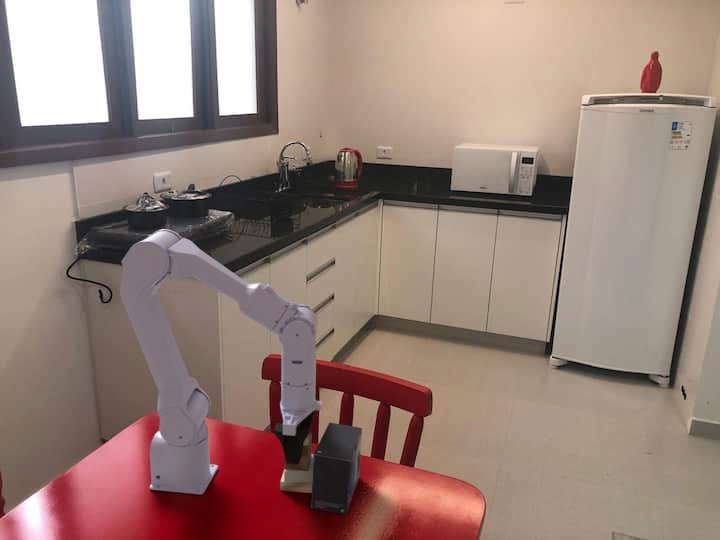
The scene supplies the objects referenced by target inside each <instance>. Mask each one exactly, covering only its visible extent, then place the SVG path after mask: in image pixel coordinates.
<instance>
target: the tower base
mask: <svg viewBox="0 0 720 540" xmlns="http://www.w3.org/2000/svg"><path fill="white" fill-rule="evenodd" d="M284 471H285V468H284V469H283V472H282V476H281V479H280V482H279V484H280V485H279V488H280V491H284V492H285V491H286V492H297V493H309V494H312V484H313V482H287V483H284Z"/></svg>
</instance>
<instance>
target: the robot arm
mask: <svg viewBox="0 0 720 540" xmlns="http://www.w3.org/2000/svg"><path fill="white" fill-rule="evenodd" d="M121 265H122V267H123V268H122V275H121V281H120V286H119V295H120V299H121V303H122V304H123V306H124V309H125V311H126V313H127V317H128V318H129V321H130V324H131V326H132V328H133V332H134V333H135V337H136V339H137V341H138V343H139V346H140V349H141V352H142V354H143V356H144V358H145V361H146V363H147V366H148V369H149V371H150V374H151V376H152V378H153V380H154V383H155V385H156V388H157V390H158V397H157V406H156V407H157V408H156V410H157V413H158V417H159V430H158V431H157V432H156V433H155V434H154V436H153V438H152V440H151V443H150V447H149V448H150V449H149V462H150V463H149V465H150V467H149V468H150V479H151V481H150V482H151V483H150V485H149V490H152V491H163V492H171V493H182V494H190V495H191V494H193V495H203V494H204V493H205V491H206V490H207V488H208V486H209V484H210V483H211V482H212V480H213V478H214V476H215V474H216V473H217V471H218V469H219V465H217V464H211V463H210V462H211V461H210V435H209V433H210V432H209V427H208V425H207V422H206V416H207V415H208V414H209V413H210V410H211V407H212V402H211V398H210V396H209V395H208V394H207V393H206V392H205V391H204V390H203V389H202V388H201V386H200V384H199V382H198V379H196V378H194V377H191V376H190V375H189V371H188V370H187V367H186V364H185V361H184V358H183V357H182V353H181V351H180V348H179V347H178V343H177V341H176V338H175V336H174V334H173V331H172V328H171V325H170V322H169V320H168V318H167V315H166V312H165V310H164V307H163V305H162V302H161V300H160V299H161V298H160V297H159V294H158V291H159V289H160V288H161V286H162V285H163V283H164V280H165V279H166V277H167V275H168V274H169V273H170V276H169V280H179V279H188V278H194V279H195V280H198V281H199V282H202V283H203V284H205V285H207V286H209V287H210V288H212V289H213V290H216V291H218V292H219V293H222V294H223V295H224V296H227V297H228V298H231V299H232V300H234V301H236V302H237V304H238V308H239V312H240V313H241V314H242V315H245V317H248V318H249V319H250V320H252V321H253V322H255V323H257V324H259V325H260V326H262V327H264V329H267V330H268V331H270V332H272V333H273V334H275V335H278V339H279V342H280V343H281V345H282V352H281V379H280V380H281V382H280V383H281V385H280V387H281V389H280V390H281V393H280V394H281V396H280V397H281V400H280V402H279V406H280V407H279V409H280V413H281V415H282V420H283V422H282V423H279V422H278V423H276V424H275V426H274V435H275V436H276V438H277V440H279V443H280V445H281V447H282V451H283V455H284V460H285V459H286V462H287V464H299V462H300V459H301V455H302V449H303V444H304V441H305V439H306V437H307V436H308V434H309V433H311V427H312V421H313V418H314V414H315V412H316V411H321V410H322V407H323V402H322V401H321V400H320V398H319V397H316V385H317V384H316V382H317V379H316V378H317V376H316V375H317V352H316V349H317V345H316V341H317V330H318V325H319V324H318V323H319V322H318V317H317V315H316V313H315V312H314V310H313V309H312V308H310V306H309V305H307V304H303V303H302V304H301V303H300V304H299V303H298V302H296V301H293V302H292V301H290V300H289V299H287V298H286V297H284V296H282V295H281V294H280V293H278V292H276V291H274V290H275V289H276V288H275V286H273V285H272V284H270V283H267V284H266V285H265V284H263V283H262V282H256V283H249V282H247V281H246V280H244V279H242V278H241V277H240V276H238V274H236V273H234V272H233V271H231V270H230V269H229V268H227V267H225V266H224V265H223V264H222V263H220V262H218V261H217V260H216V259H214V258H213V257H211V256H210V255H209V254H208V253H206V252H204V251H203V250H202V249H200V248H199V247H198V246H197V245H196V243H194V242H193V241H192V240H190V239H187V238H185V237H182V236H181V235H180V234H179V233H177V232H176V231H174V230H171V229H167V228H165V229H163V228H162V229H158V230H156V231H154V232H153V233H151V234H150V235H149V236H147V237H146V238H145V239H143V240H140V241H138V242H136V243H134V244H133V245H132V246H131V247H130V248H129V250H128V251H127V253H126V254H125V255H124V256H123V259H122V260H121Z"/></svg>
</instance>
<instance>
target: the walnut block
mask: <svg viewBox="0 0 720 540" xmlns="http://www.w3.org/2000/svg"><path fill="white" fill-rule="evenodd" d="M312 440H313V433H312V432H309V434H308V436H307V437H306V439H305V441H304V444H303V449H302V455H301V459H300V462H299V464H287V462H286V459H285V458H284V469H291V470H301V471H308V468H309V465H310V461H311V458H312V454H313V453H312V452H313V447H312V446H313V443H312V442H313V441H312Z"/></svg>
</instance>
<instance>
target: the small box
mask: <svg viewBox="0 0 720 540" xmlns="http://www.w3.org/2000/svg"><path fill="white" fill-rule="evenodd" d="M362 435H363V428H362V427H359V426H358V427H357V426H354V425H353V426H352V425H346V424H341V423H334V422H329V423H328V425H327V427H326V429H325V431H324V432H323V435H322V436H321V438H320V441H319V442H318V444H317V446H316V448H315V450H314V452H313V484H312V493H311V505H310V508H311V509H312V510H317V511H318V510H319V511H325V512H330V513H334V514H339V515H347V513H348V511H349V508H350V505H351V502H352V500H353V496H354V494H355V491H356V488H357V484H358V482H359V480H360V470H361V451H362Z"/></svg>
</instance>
